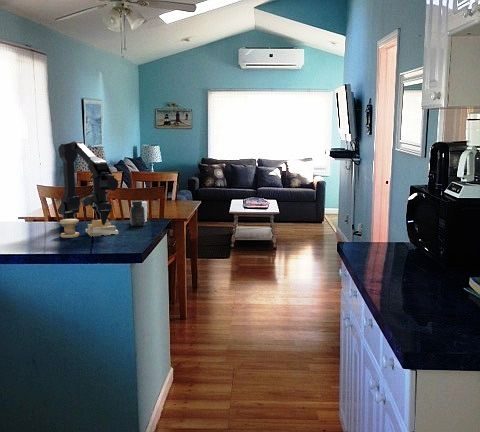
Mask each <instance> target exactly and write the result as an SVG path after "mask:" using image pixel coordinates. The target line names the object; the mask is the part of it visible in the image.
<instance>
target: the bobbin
mask: <svg viewBox="0 0 480 432" xmlns="http://www.w3.org/2000/svg"><path fill="white" fill-rule="evenodd" d="M79 222H80V220H79V219H78V218H75V219H64V220H63V219H60V220H59V224H60V225H62V224H64V227H63V228H64V229H63V230H64V232H61V233H60V237H61V238H63V239H68V238H69V239H71V238H78V237H79V236H80V232H79V231H78V232H77V231H76V226H75V224H79Z"/></svg>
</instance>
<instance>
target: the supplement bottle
mask: <svg viewBox="0 0 480 432" xmlns="http://www.w3.org/2000/svg"><path fill="white" fill-rule="evenodd" d="M142 201H143V200H132V201H131V202H132V204H131V207H130V209H129V213H130V216H129V217H130V226H132V227H143V226H145V225H146V222H145V211H144V207H143V206H142ZM132 205H133V206H132Z"/></svg>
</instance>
